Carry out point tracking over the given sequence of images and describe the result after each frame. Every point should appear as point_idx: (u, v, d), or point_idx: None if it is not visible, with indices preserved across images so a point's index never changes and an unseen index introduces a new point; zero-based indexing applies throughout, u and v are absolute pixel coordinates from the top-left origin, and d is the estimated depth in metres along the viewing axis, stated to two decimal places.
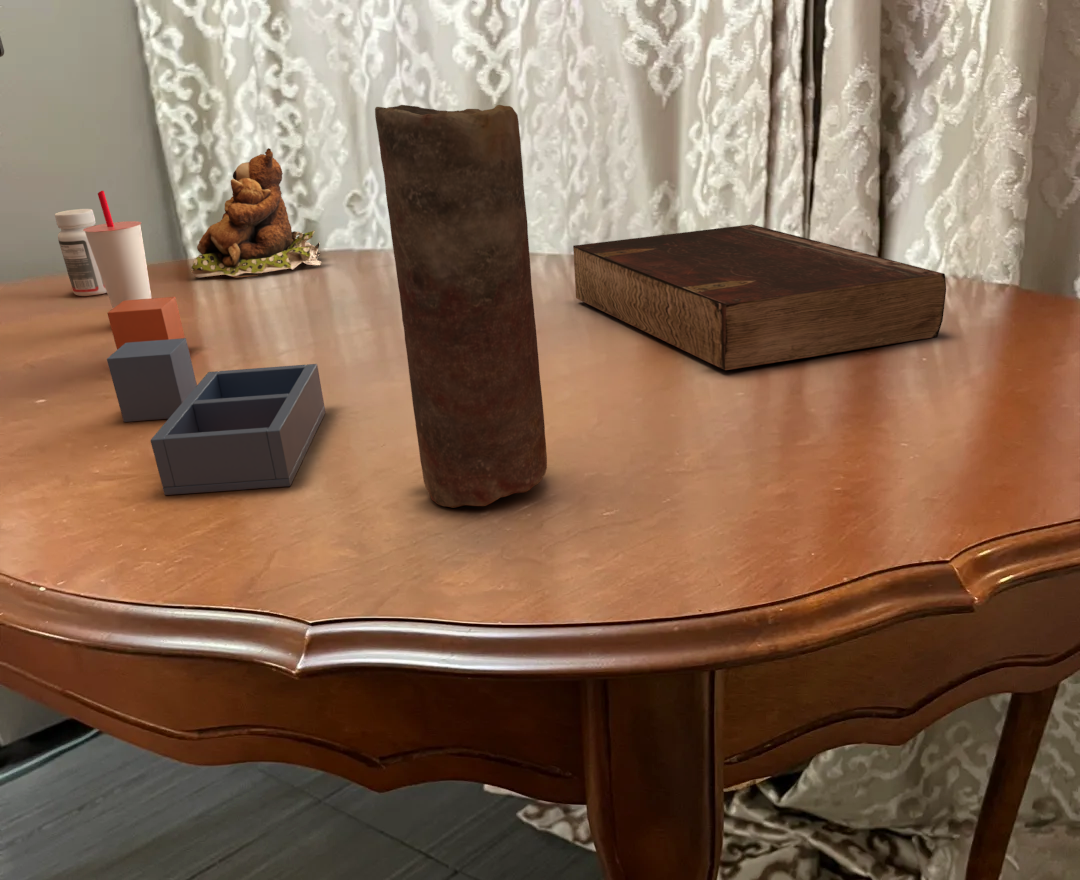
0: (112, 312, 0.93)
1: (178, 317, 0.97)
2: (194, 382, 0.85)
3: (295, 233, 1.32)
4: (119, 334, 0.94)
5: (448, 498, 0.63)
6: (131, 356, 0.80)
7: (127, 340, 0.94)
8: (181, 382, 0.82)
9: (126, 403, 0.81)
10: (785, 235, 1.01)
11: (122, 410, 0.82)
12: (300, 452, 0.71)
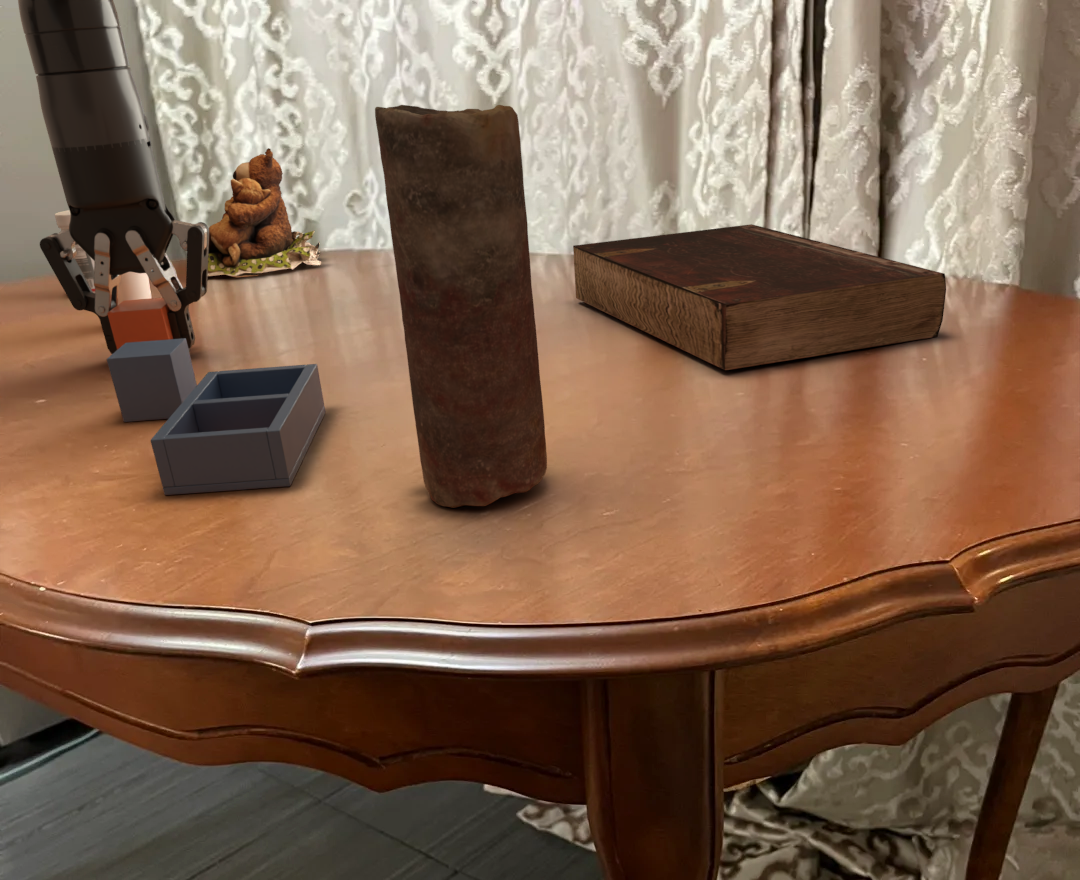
0: (112, 312, 0.93)
1: None
2: (194, 382, 0.85)
3: (295, 233, 1.32)
4: (119, 334, 0.94)
5: (448, 498, 0.63)
6: (131, 356, 0.80)
7: (127, 340, 0.94)
8: (181, 382, 0.82)
9: (126, 403, 0.81)
10: (785, 235, 1.01)
11: (122, 410, 0.82)
12: (300, 452, 0.71)
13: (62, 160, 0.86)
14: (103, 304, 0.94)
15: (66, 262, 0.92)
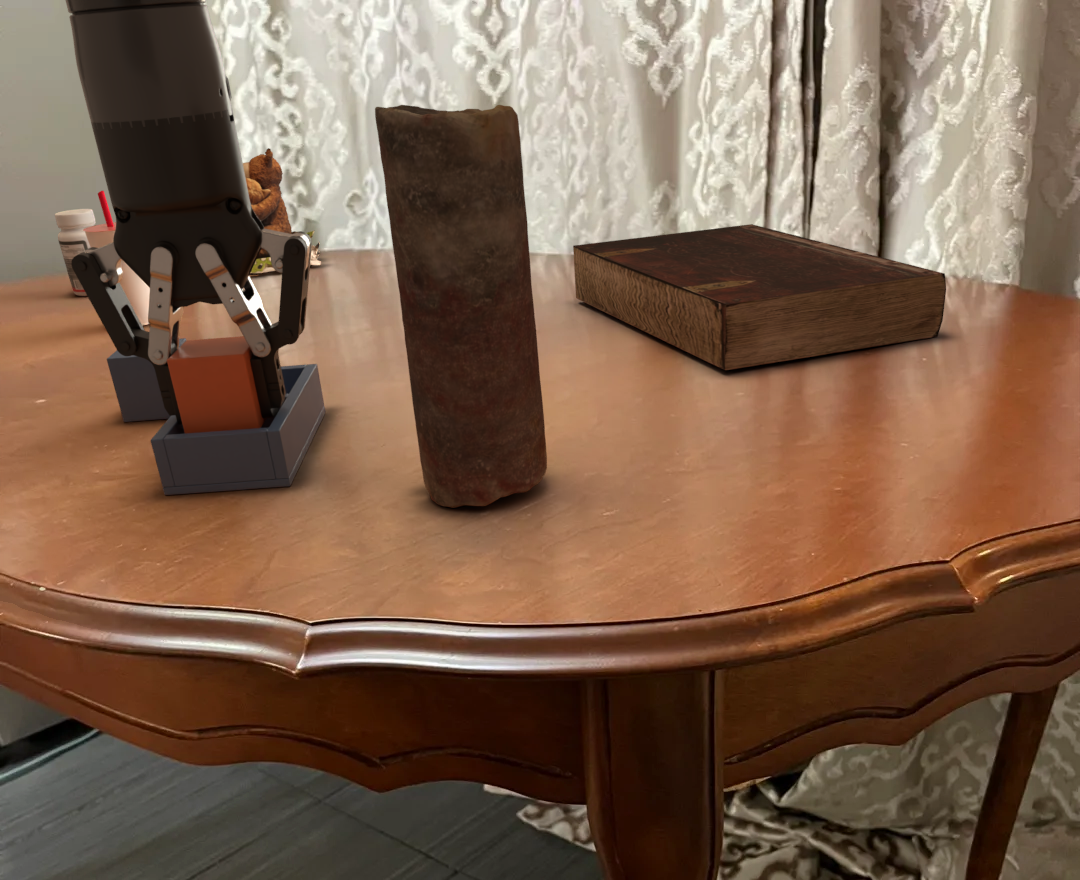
0: (174, 359, 0.66)
1: None
2: None
3: None
4: (183, 390, 0.66)
5: (448, 498, 0.63)
6: (131, 356, 0.80)
7: (194, 398, 0.67)
8: None
9: (126, 403, 0.81)
10: (785, 235, 1.01)
11: (122, 410, 0.82)
12: (300, 452, 0.71)
13: (107, 141, 0.59)
14: (160, 348, 0.66)
15: (109, 289, 0.65)
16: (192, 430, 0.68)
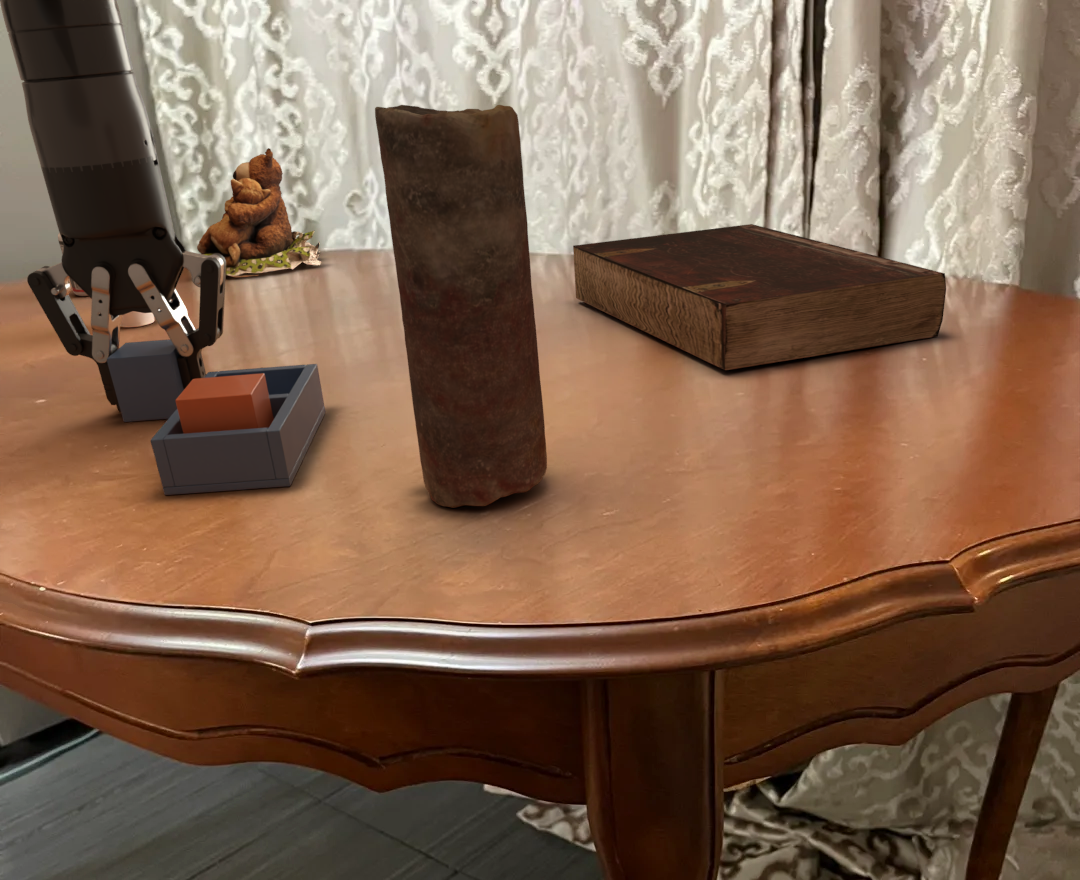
0: (182, 399, 0.67)
1: (268, 401, 0.71)
2: None
3: (295, 233, 1.32)
4: (191, 429, 0.68)
5: (448, 498, 0.63)
6: (131, 356, 0.80)
7: None
8: (181, 382, 0.82)
9: (126, 403, 0.81)
10: (785, 235, 1.01)
11: (122, 410, 0.82)
12: (300, 452, 0.71)
13: (53, 182, 0.73)
14: (102, 349, 0.80)
15: (58, 300, 0.79)
16: None
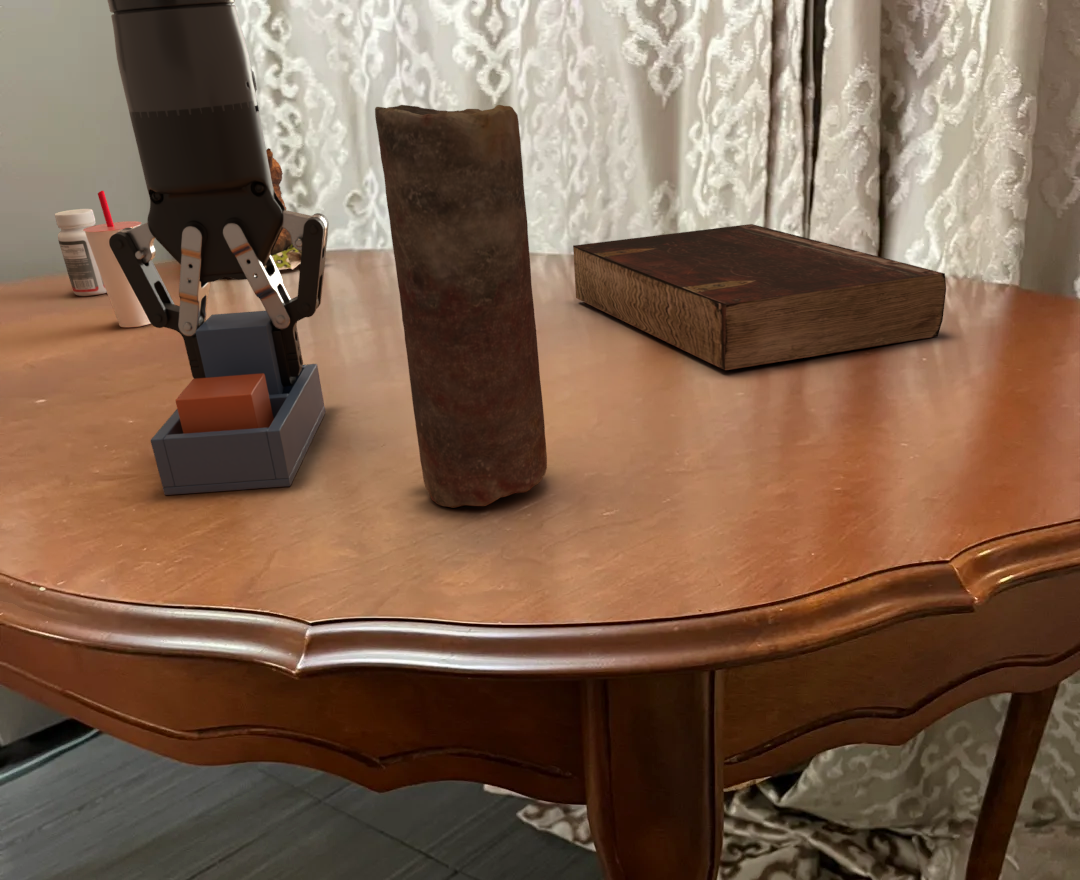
0: (182, 399, 0.67)
1: (268, 401, 0.71)
2: None
3: None
4: (191, 429, 0.68)
5: (448, 498, 0.63)
6: (223, 328, 0.72)
7: None
8: (275, 358, 0.73)
9: None
10: (785, 235, 1.01)
11: None
12: (300, 452, 0.71)
13: (144, 129, 0.65)
14: (189, 320, 0.72)
15: (143, 265, 0.71)
16: None
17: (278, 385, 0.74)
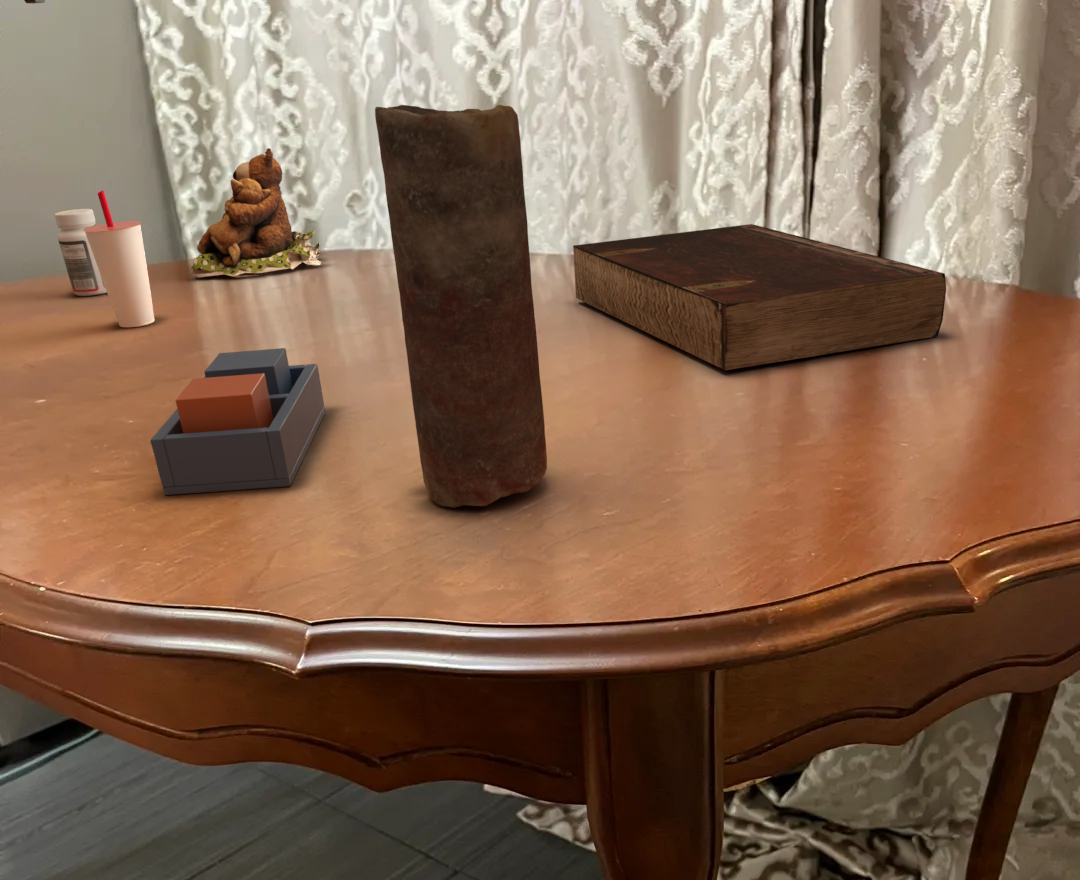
0: (182, 399, 0.67)
1: (268, 401, 0.71)
2: None
3: (295, 233, 1.32)
4: (191, 429, 0.68)
5: (448, 498, 0.63)
6: (231, 368, 0.73)
7: None
8: None
9: None
10: (785, 235, 1.01)
11: None
12: (300, 452, 0.71)
13: None
14: None
15: None
16: None
17: None
